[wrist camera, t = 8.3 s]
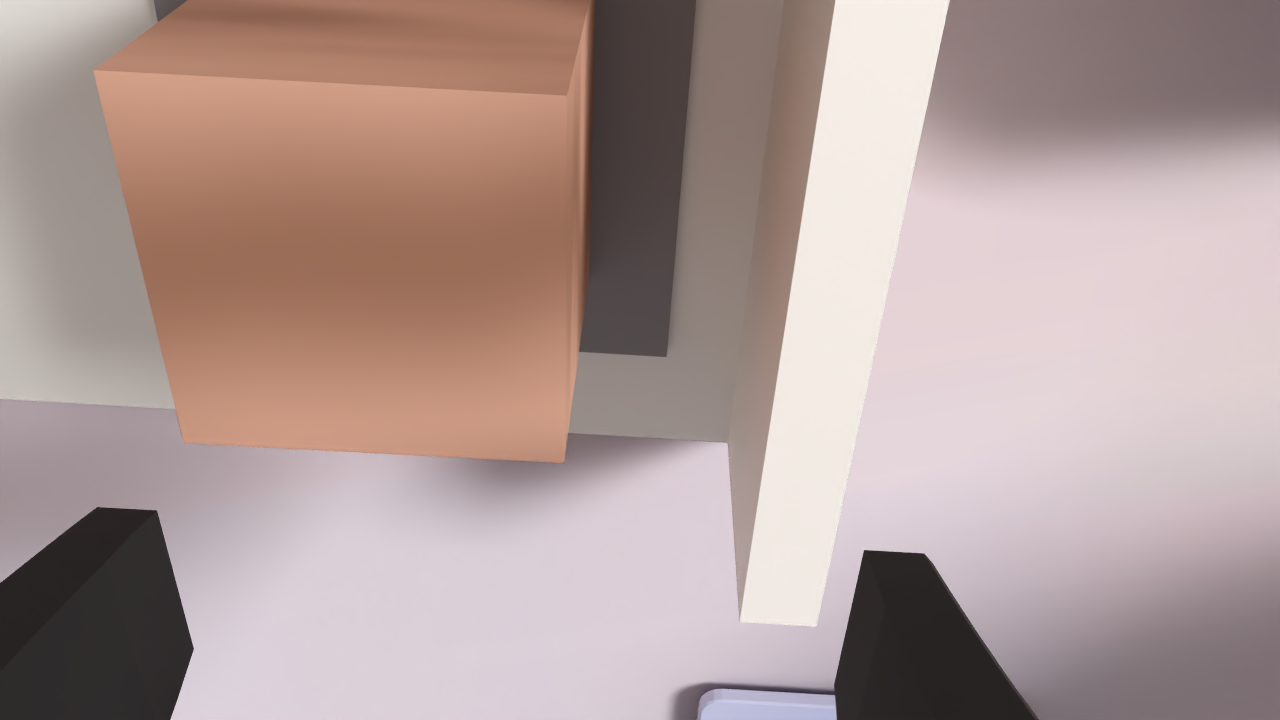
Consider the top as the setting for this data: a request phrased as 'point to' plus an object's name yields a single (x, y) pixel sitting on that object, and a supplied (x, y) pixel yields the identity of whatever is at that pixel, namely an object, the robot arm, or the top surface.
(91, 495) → the top surface
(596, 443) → the top surface
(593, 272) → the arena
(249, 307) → the cube
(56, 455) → the top surface
